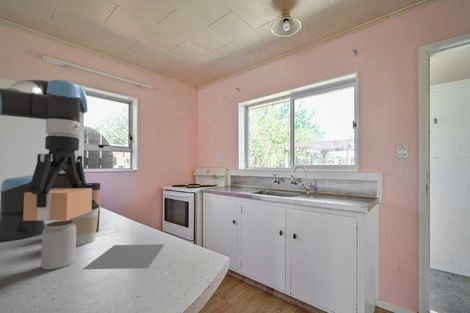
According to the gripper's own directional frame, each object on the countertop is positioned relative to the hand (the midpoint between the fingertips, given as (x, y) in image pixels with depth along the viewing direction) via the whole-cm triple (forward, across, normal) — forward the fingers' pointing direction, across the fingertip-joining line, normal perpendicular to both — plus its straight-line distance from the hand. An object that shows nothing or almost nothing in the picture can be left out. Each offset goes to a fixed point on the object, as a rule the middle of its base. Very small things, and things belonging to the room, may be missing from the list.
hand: (60, 214), depth 61 cm
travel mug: (+14, +30, +10) cm, 35 cm away
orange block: (0, 0, 0) cm, 0 cm away
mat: (+14, +5, -17) cm, 23 cm away
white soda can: (+14, 0, 0) cm, 14 cm away
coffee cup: (+14, +17, +4) cm, 23 cm away
